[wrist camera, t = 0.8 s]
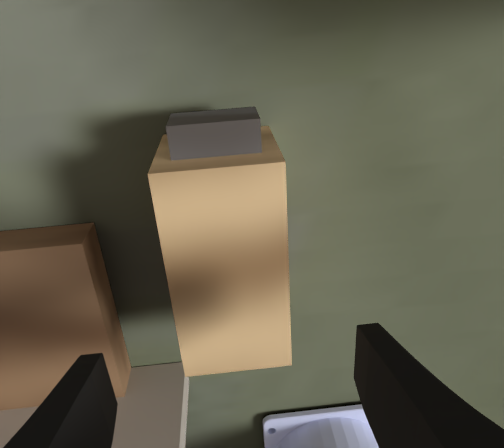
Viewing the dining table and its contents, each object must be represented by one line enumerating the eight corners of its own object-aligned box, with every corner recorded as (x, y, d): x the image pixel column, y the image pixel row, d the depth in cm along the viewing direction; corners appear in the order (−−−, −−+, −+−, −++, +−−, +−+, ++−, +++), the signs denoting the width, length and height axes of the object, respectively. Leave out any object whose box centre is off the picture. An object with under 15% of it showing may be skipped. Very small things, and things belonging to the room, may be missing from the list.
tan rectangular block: (276, 295, 23) (291, 365, 18) (190, 303, 22) (185, 376, 18) (266, 96, 18) (284, 125, 14) (158, 105, 18) (140, 137, 13)
